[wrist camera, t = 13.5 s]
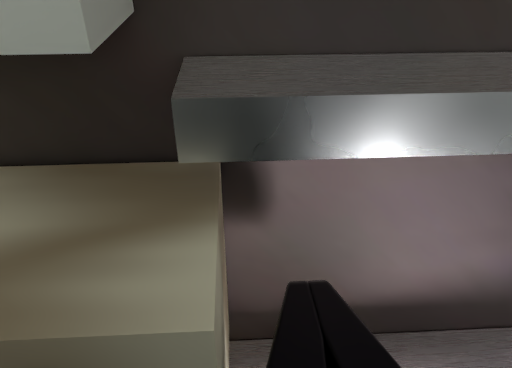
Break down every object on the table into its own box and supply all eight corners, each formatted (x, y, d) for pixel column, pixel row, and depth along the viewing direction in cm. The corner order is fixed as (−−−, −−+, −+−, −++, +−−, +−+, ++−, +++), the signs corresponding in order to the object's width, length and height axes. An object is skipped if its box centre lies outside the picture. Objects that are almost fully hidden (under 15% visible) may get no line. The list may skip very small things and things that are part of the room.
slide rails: (722, 47, 8) (860, 84, 6) (539, 346, 13) (587, 412, 11) (-331, 64, 7) (-517, 113, 5) (-85, 378, 12) (-137, 455, 10)
